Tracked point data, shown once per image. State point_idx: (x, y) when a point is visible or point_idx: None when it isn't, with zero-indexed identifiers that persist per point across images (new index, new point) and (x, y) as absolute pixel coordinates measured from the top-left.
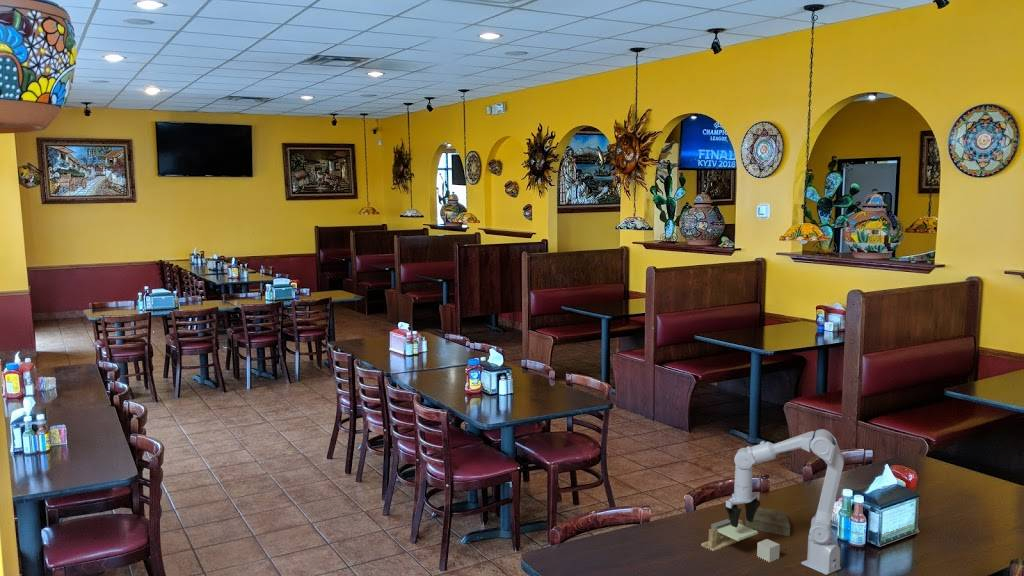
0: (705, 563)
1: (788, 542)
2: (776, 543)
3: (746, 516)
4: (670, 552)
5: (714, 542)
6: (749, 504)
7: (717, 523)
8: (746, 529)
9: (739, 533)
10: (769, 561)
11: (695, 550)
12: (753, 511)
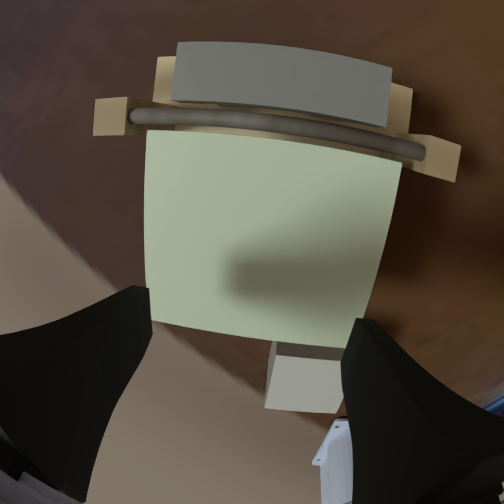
0: (55, 198)
1: (482, 316)
2: (334, 404)
3: (364, 339)
4: (33, 55)
5: None
6: (388, 487)
7: (233, 60)
8: (331, 284)
9: (223, 287)
10: (268, 364)
11: (104, 83)
12: (354, 459)
